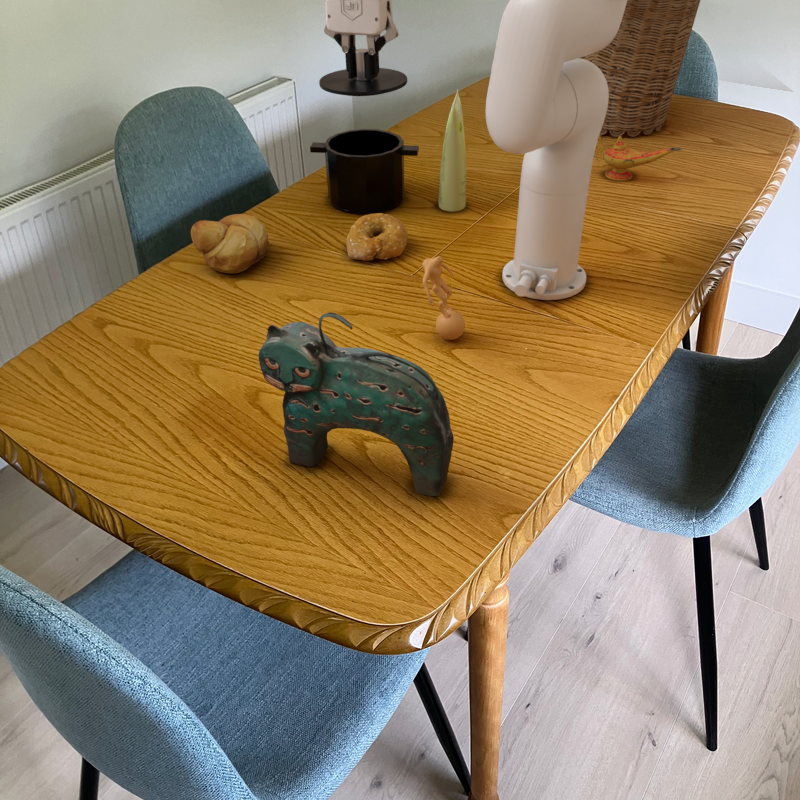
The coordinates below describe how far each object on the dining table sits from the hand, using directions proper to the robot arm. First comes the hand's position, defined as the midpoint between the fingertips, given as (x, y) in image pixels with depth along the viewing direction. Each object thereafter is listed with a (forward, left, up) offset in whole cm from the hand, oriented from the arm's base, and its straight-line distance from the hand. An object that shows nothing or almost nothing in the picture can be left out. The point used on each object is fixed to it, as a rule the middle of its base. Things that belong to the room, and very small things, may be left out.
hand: (363, 76), depth 129 cm
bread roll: (-29, +9, -22) cm, 37 cm away
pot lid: (0, 0, -1) cm, 1 cm away
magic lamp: (+27, -43, -22) cm, 55 cm away
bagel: (-18, -10, -22) cm, 30 cm away
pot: (0, 0, -22) cm, 22 cm away
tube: (+2, -16, -22) cm, 27 cm away
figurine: (-38, -29, -22) cm, 52 cm away
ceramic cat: (-66, -30, -22) cm, 76 cm away
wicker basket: (+58, -35, -22) cm, 71 cm away
